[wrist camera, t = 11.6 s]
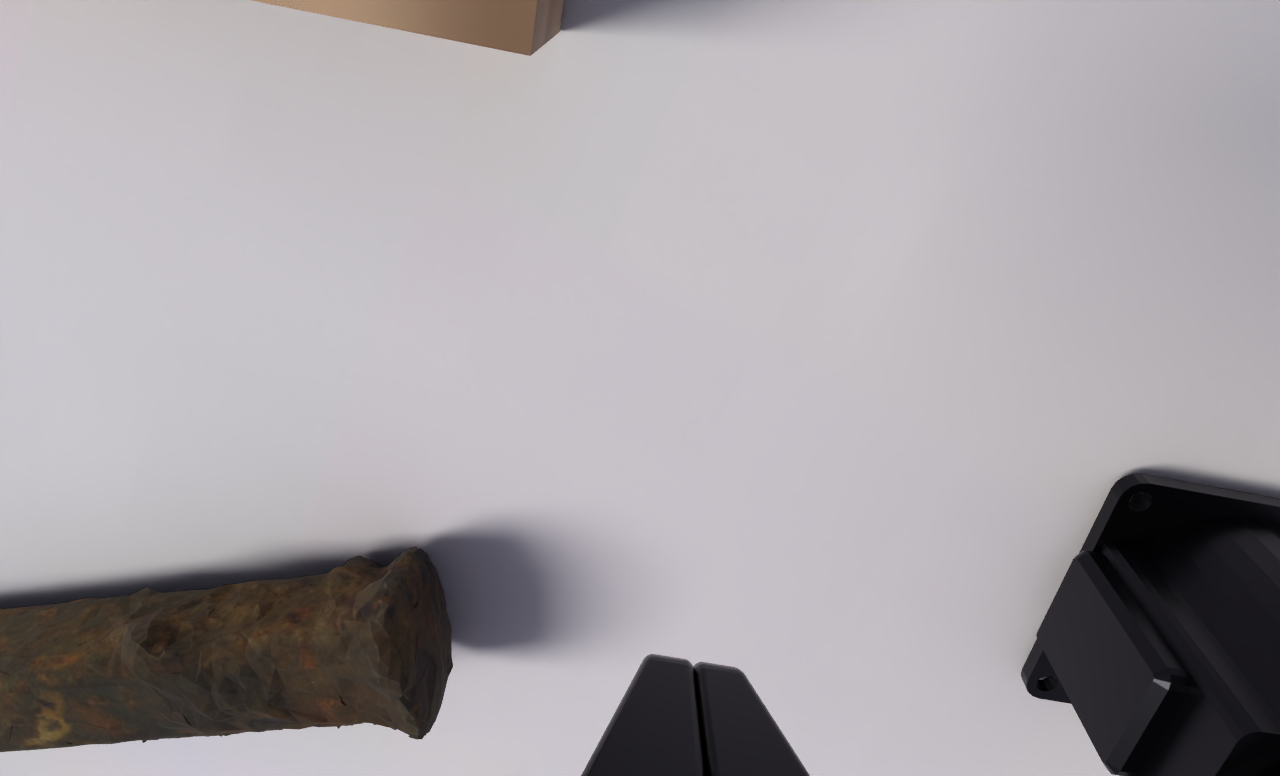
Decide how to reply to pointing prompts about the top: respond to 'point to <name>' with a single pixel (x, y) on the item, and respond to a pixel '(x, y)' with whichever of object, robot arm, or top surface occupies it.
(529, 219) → the top surface
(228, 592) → the brown wooden log
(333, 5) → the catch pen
